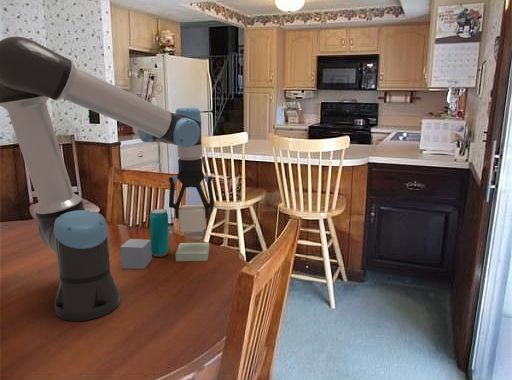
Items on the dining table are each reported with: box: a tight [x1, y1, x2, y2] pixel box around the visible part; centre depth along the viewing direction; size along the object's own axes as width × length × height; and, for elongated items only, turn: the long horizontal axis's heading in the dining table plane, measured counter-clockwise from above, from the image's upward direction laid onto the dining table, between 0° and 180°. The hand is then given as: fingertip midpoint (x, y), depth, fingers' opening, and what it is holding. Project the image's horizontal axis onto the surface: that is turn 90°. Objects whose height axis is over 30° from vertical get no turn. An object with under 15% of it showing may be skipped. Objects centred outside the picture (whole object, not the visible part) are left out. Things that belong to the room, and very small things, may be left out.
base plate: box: [175, 242, 210, 262], centre depth 139 cm, size 10×10×2 cm
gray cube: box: [119, 238, 153, 270], centre depth 131 cm, size 7×7×7 cm
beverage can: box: [149, 208, 170, 257], centre depth 138 cm, size 6×6×15 cm
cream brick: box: [179, 204, 204, 233], centre depth 136 cm, size 7×7×7 cm
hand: (192, 227), depth 137 cm, fingers closed on cream brick, 7 cm apart
